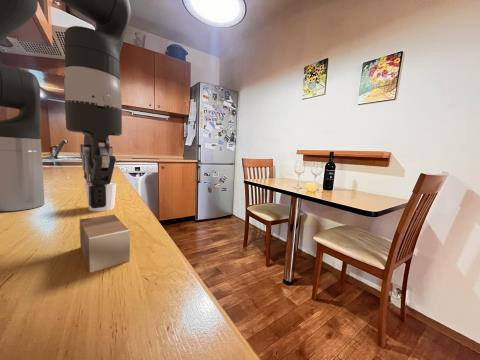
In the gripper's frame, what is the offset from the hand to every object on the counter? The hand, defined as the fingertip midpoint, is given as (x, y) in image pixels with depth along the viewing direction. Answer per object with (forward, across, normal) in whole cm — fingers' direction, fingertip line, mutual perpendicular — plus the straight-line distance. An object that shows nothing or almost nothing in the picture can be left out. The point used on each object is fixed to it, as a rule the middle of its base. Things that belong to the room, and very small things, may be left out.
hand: (97, 206), depth 35 cm
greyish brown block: (+4, 0, 0) cm, 4 cm away
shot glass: (+7, -22, +5) cm, 23 cm away
